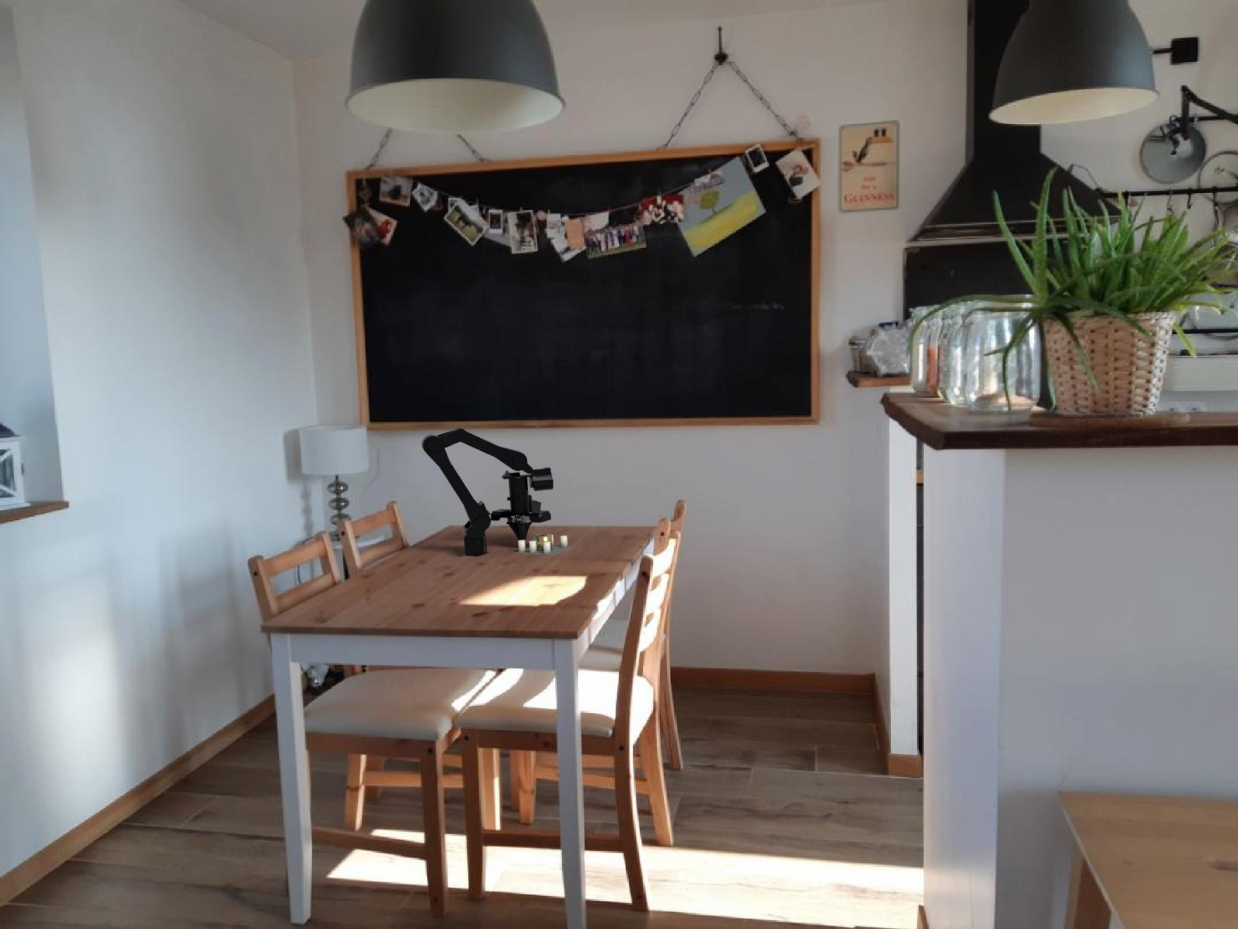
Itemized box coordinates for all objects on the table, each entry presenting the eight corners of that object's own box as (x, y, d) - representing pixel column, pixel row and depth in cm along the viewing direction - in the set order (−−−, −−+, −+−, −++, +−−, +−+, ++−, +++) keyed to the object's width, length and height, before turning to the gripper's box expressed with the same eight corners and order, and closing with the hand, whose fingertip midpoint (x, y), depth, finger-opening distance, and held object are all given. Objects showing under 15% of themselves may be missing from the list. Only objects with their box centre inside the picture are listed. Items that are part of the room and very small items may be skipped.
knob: (546, 551, 279) (545, 536, 278) (534, 551, 281) (533, 535, 280) (555, 548, 282) (554, 533, 282) (542, 547, 285) (541, 532, 284)
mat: (553, 556, 273) (553, 555, 273) (513, 554, 280) (513, 552, 280) (575, 548, 283) (575, 547, 283) (537, 545, 290) (537, 544, 290)
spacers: (548, 554, 274) (547, 542, 274) (514, 552, 280) (514, 540, 280) (569, 547, 284) (568, 535, 283) (536, 545, 290) (535, 533, 290)
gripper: (559, 489, 286) (563, 540, 288) (509, 488, 295) (513, 537, 297) (538, 495, 276) (542, 547, 278) (487, 493, 286) (491, 544, 288)
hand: (522, 543), depth 286 cm, fingers closed
